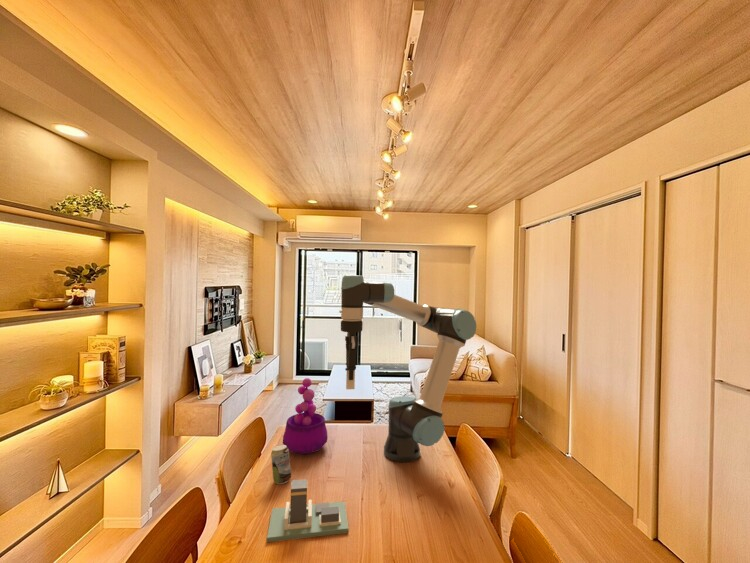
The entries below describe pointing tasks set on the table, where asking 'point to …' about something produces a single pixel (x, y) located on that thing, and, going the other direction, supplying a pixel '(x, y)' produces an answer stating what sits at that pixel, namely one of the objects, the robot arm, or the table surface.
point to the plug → (298, 501)
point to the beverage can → (281, 464)
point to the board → (308, 522)
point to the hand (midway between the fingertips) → (350, 388)
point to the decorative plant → (305, 425)
